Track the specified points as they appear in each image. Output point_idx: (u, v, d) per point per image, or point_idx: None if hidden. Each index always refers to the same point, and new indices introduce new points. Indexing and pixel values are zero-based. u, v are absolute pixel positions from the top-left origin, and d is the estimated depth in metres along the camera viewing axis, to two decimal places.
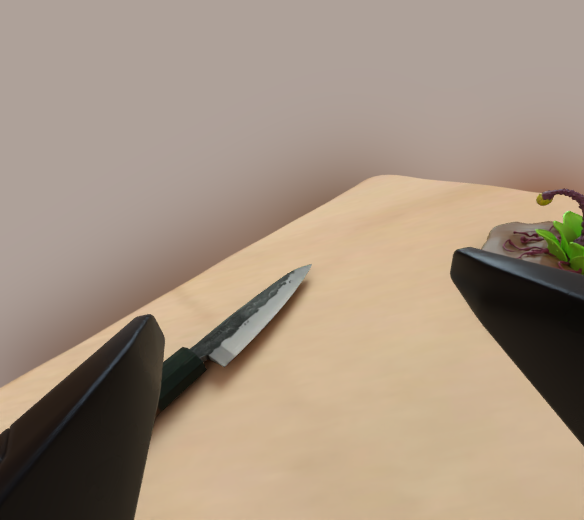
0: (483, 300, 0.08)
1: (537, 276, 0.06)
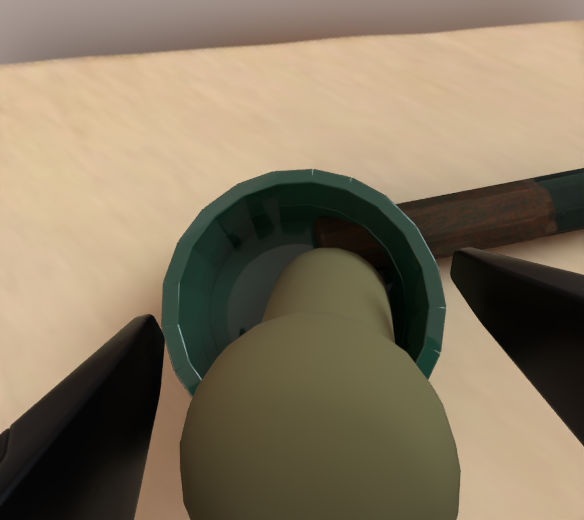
0: (483, 300, 0.08)
1: (537, 276, 0.06)
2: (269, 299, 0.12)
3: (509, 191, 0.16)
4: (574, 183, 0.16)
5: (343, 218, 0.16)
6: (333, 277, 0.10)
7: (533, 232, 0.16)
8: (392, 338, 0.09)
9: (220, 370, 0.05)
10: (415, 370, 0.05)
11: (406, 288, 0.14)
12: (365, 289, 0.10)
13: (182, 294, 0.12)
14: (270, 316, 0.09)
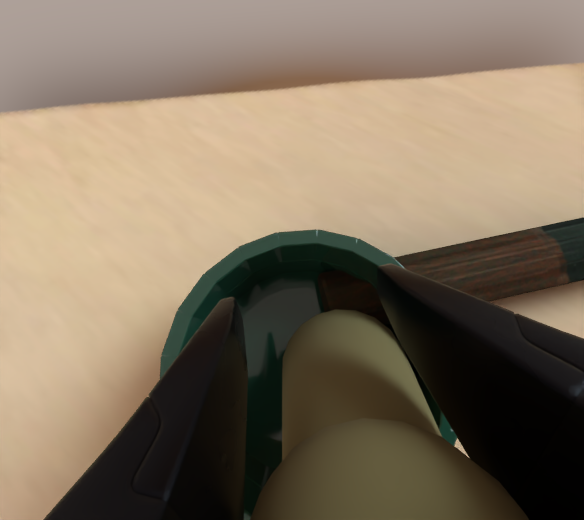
0: (398, 319, 0.08)
1: (434, 299, 0.06)
2: (290, 369, 0.11)
3: (518, 241, 0.16)
4: (583, 233, 0.16)
5: (348, 272, 0.15)
6: (368, 353, 0.10)
7: (544, 284, 0.15)
8: None
9: (297, 516, 0.04)
10: (526, 517, 0.04)
11: None
12: (401, 368, 0.10)
13: None
14: (308, 403, 0.08)
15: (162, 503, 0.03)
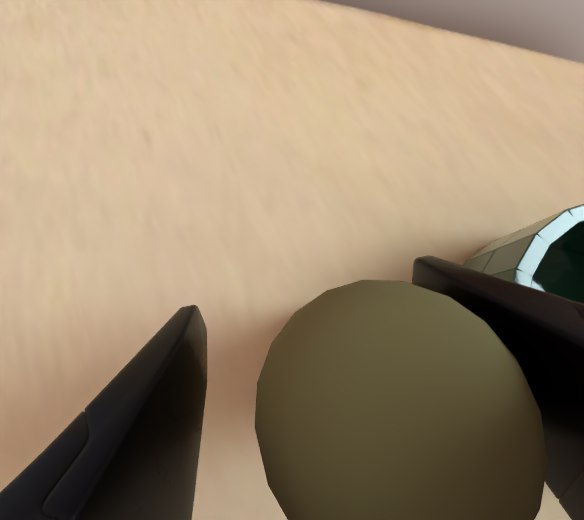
0: None
1: (484, 288, 0.06)
2: None
3: None
4: None
5: None
6: None
7: None
8: None
9: (310, 308, 0.06)
10: None
11: None
12: None
13: None
14: None
15: None
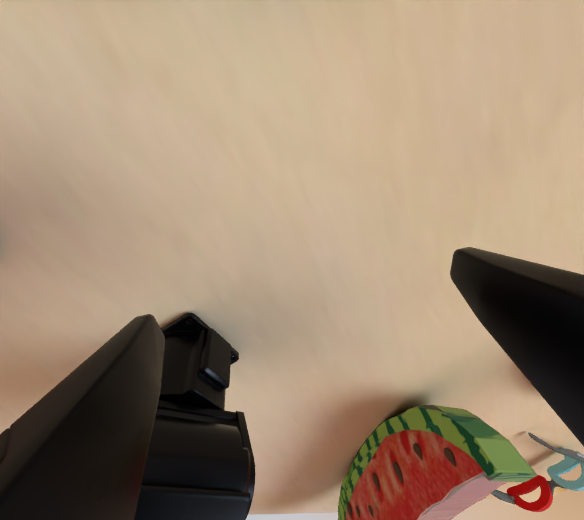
0: (483, 300, 0.08)
1: (537, 276, 0.06)
2: None
3: None
4: None
5: None
6: None
7: None
8: None
9: None
10: None
11: None
12: None
13: None
14: None
15: None
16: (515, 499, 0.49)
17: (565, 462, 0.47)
